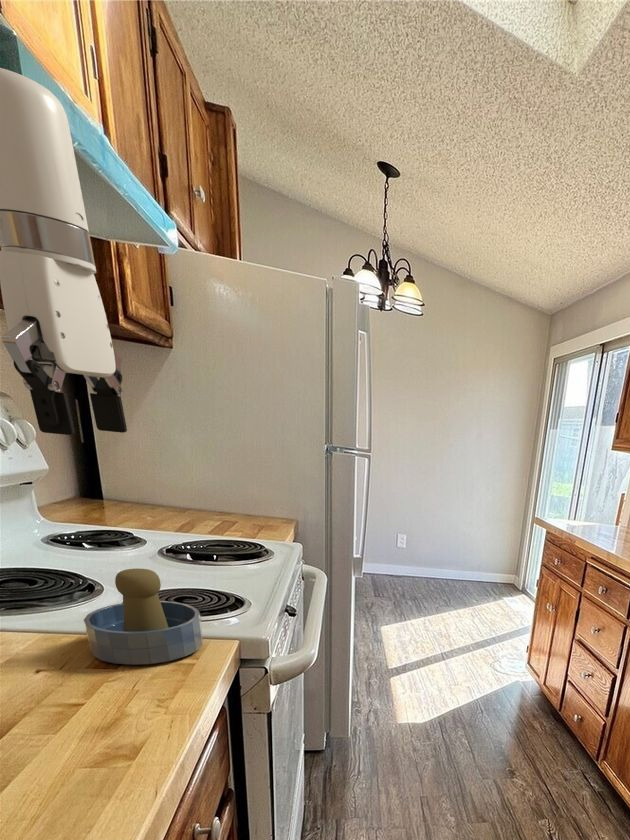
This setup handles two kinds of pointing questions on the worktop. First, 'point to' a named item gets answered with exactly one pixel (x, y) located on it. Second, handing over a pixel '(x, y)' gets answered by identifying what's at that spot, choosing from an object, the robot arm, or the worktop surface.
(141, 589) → the olive pawn
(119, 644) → the bowl
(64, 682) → the worktop surface
